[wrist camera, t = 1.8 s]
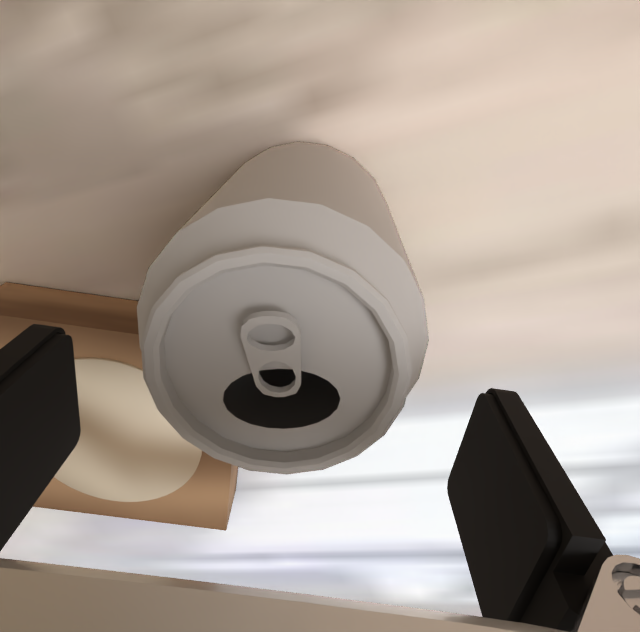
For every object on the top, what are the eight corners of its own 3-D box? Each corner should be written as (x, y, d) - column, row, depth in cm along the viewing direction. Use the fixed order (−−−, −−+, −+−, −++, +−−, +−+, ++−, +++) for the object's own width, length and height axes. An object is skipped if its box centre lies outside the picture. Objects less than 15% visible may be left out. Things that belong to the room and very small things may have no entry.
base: (6, 282, 23) (-40, 312, 20) (251, 317, 23) (240, 351, 21) (37, 462, 28) (5, 506, 26) (236, 488, 29) (225, 533, 26)
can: (233, 303, 23) (146, 501, 13) (210, 142, 20) (64, 226, 9) (386, 299, 23) (431, 498, 12) (390, 134, 19) (457, 212, 9)
